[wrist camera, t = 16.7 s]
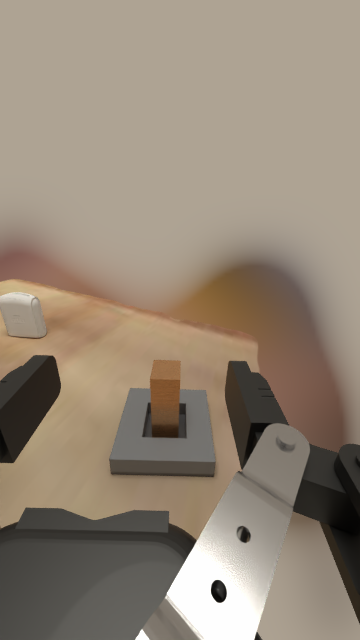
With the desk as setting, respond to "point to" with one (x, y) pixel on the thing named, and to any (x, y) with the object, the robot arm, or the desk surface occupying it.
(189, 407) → the well stand
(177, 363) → the bracket post
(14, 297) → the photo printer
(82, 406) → the desk surface
